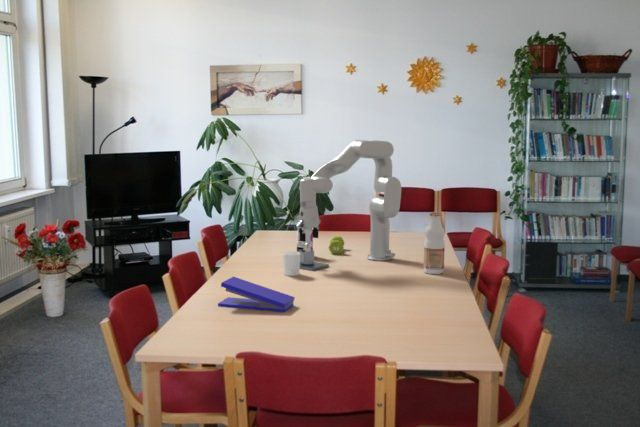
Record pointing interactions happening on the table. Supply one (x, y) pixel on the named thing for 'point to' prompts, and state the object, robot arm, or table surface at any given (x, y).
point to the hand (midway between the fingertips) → (309, 239)
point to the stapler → (255, 296)
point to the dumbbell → (336, 245)
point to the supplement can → (308, 239)
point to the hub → (306, 256)
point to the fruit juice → (434, 246)
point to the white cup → (291, 263)
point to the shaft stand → (312, 265)
